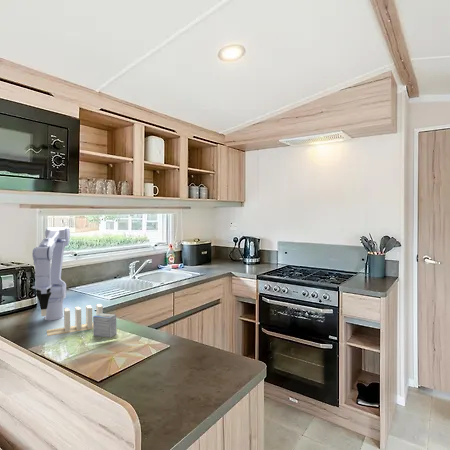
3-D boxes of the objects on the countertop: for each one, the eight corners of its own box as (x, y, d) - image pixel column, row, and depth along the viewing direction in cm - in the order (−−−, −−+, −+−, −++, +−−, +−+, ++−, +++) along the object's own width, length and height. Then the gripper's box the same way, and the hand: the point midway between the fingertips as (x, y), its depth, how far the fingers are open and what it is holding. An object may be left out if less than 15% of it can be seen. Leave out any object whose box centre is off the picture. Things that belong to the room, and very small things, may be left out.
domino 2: (64, 328, 141) (63, 308, 141) (69, 327, 142) (68, 307, 142) (65, 331, 137) (65, 311, 136) (70, 331, 138) (69, 310, 137)
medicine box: (117, 335, 135) (116, 314, 134) (110, 339, 130) (110, 317, 130) (100, 333, 137) (99, 312, 137) (93, 337, 133) (92, 316, 132)
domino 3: (75, 326, 143) (75, 307, 143) (79, 325, 144) (79, 306, 144) (76, 330, 139) (76, 309, 139) (81, 329, 140) (81, 309, 140)
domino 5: (96, 323, 148) (96, 304, 147) (100, 322, 148) (100, 303, 148) (98, 326, 143) (98, 306, 143) (103, 325, 144) (102, 306, 144)
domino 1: (41, 313, 142) (40, 293, 141) (45, 312, 143) (45, 292, 142) (41, 316, 137) (41, 295, 137) (46, 315, 138) (46, 295, 138)
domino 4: (86, 324, 145) (85, 305, 145) (90, 324, 146) (90, 305, 146) (87, 328, 141) (87, 308, 141) (92, 327, 142) (92, 307, 142)
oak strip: (46, 332, 139) (46, 330, 139) (106, 322, 151) (106, 320, 151) (47, 338, 132) (47, 336, 132) (110, 327, 144) (110, 325, 144)
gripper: (31, 273, 144) (32, 304, 144) (32, 279, 131) (32, 313, 132) (50, 272, 147) (50, 302, 148) (52, 277, 135) (52, 310, 135)
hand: (43, 307), depth 140 cm, fingers closed on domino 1, 5 cm apart
